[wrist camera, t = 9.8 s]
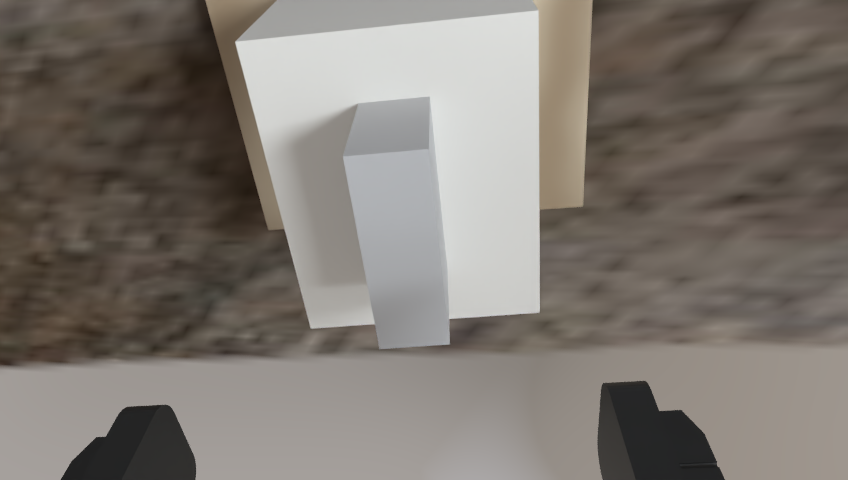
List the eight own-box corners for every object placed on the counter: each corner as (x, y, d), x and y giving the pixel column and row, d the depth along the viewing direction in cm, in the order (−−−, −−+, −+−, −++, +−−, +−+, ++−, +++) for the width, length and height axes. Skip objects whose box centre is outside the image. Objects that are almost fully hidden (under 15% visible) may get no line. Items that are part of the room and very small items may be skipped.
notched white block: (510, -36, 22) (561, 47, 13) (517, 210, 27) (556, 388, 18) (288, -11, 22) (191, 85, 13) (337, 225, 28) (291, 404, 19)
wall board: (585, -49, 23) (607, -33, 20) (576, 190, 28) (592, 230, 25) (216, -11, 24) (186, 10, 21) (275, 213, 29) (257, 255, 26)
